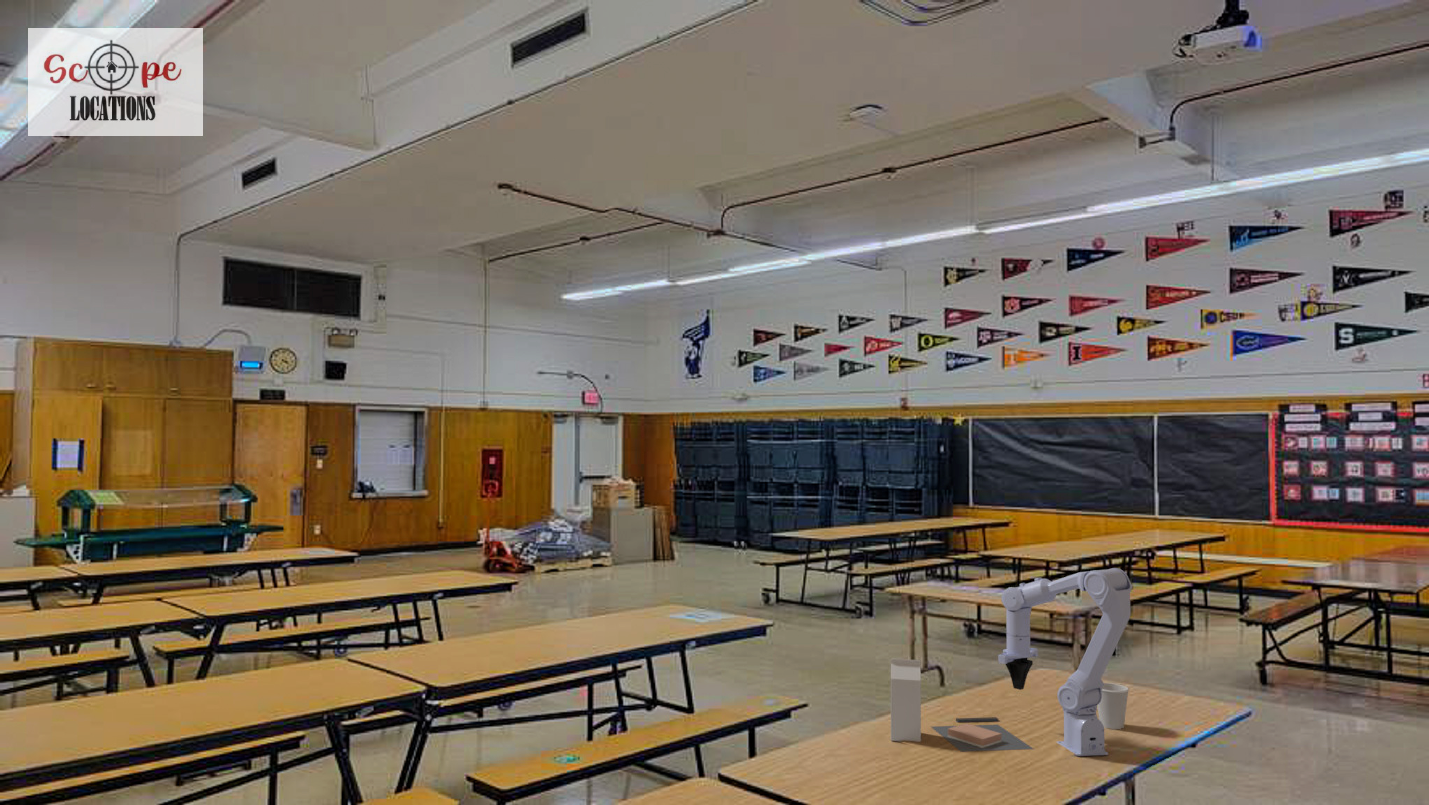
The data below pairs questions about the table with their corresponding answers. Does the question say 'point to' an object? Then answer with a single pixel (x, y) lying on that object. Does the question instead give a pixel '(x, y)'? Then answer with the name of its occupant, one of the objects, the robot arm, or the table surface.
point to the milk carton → (905, 700)
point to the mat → (1006, 744)
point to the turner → (977, 719)
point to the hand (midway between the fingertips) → (1018, 688)
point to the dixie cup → (1113, 705)
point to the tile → (974, 735)
